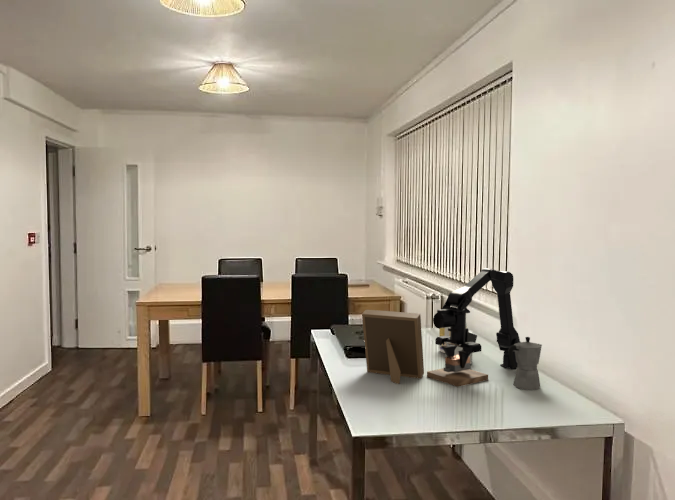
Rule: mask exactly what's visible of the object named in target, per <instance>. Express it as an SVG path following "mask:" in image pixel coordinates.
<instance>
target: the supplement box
mask: <svg viewBox="0 0 675 500" xmlns="http://www.w3.org/2000/svg"><path fill="white" fill-rule="evenodd" d="M469 333H472V334H474V333H473V330H469ZM465 343H470V342H465ZM455 344H456V343H455ZM459 345H461V344H459ZM462 349H463V348H462V347H458V346H457V347H456V349H455V355H459V352H458V351H462ZM455 355H454V356H455ZM469 357H470V365H471V364H473V353H471V354H470V355H469Z"/></svg>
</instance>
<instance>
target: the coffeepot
mask: <svg viewBox="0 0 675 500" xmlns="http://www.w3.org/2000/svg"><path fill="white" fill-rule="evenodd" d="M542 346H543V344H540V343H536V342H531V337H529V336H526V337H525V341H520V343H516V344H514V345H512V346H511V347H510V348H509V349H508V354H509V358H510V361H511V365H512V368H515V373H514V374H515V375H514V379H513V386H514V387H515V388H516V389H520V390H525V391H535V390H539V389H540V388H541V381H540V375H539V370H538V365H540V364H539V362H540V357H541V351H542ZM514 350H515V356H516V362H517V363H518V367H517V365H515V364H514V363H515V361H514V358H513V351H514Z"/></svg>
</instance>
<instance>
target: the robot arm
mask: <svg viewBox="0 0 675 500" xmlns="http://www.w3.org/2000/svg"><path fill="white" fill-rule="evenodd" d="M489 282H491V286H492V289H493V290H494V291H495V292H496V294H497V303H498V304H497V305H498V312H499V313H498V314H499V322H500V329H499V331H498V332H496V333H495V334H496V343H497V344H498V347H499V351H503V355H502V357H503V358H502V363H501V364H500V367H503V368H506V369H507V368H508V369H511V370H514V369H515V370H516V368H512V365H511V361H510V358H509V354H508V349H509V348H510V347H511V346H512V345H514V344H516V343H520V342H521V340H520V336H519V335H520V334H519V332H518V331H517V330H516V328H515V327H514V326H515V325H514V317H513V309H512V300H511V291H512V290H513V288H514V274H513V273H511V272H510V271H506V270H504V271H503V270H497V269H494V268H487V267H485V268H482V269H480V272H479V273H477V275H475V276H474V277H473V278H472V279H470V280H469V281H468V282H467V283H465V285H464V286H463V287H460V288H457V289H454V290H453V291H451V292H449V294H448V295H447V299H446V300H445V302H444V304H443V306H442V309H437V310H436V313H435V314H434V316H433V318H432V323H433V325H434V327H436V329H439V328H446V327H450V328H448V331H450V337H449V336H439V335H438V336H437V337H436V338H435V339H434V340H435V345H438V346H439V345H442V344H443V346H441V348H443V350H444V352H445V353H444V354H445V355H446V357H449V356H454V355H455V349H456V347H457V346H458V347H462V348H463V349H462V351H458V352H459V358H460V364H461V368H464V367H465V364H466V362H467V359H468V357H469V355H470V354H471V353H472V354H474V353H478V352H482V345H481V343H477V338H478V335H477V334H475V333H473V332H472V333H473V334H472V333H469V331H470V330H469V328H468V327H467V328H466V323H467V314H470V313H471V311H470V310H469V309H468V307H469V305H470V304H471V303H472V301H473V297H474V296H475V294H477V293H478V292H480V290H481V289H482V288H484V286H486V285H487V284H488V283H489ZM465 342H470V343H465ZM455 343H456V344H455ZM459 344H461V345H459ZM513 358H514V361H515V363H514V364H515V365H517V367H518V363H517V362H516V356H515V350H514V351H513Z"/></svg>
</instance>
